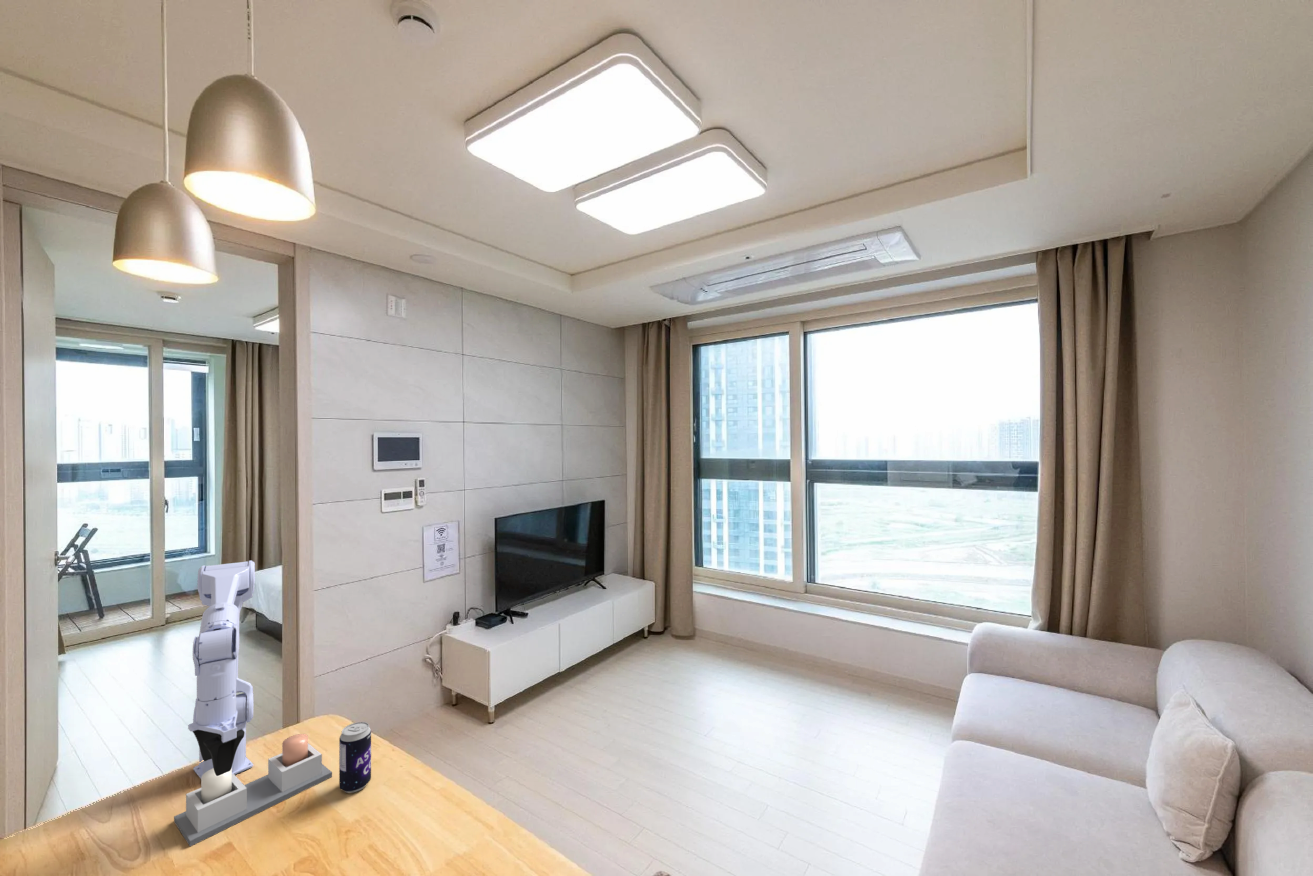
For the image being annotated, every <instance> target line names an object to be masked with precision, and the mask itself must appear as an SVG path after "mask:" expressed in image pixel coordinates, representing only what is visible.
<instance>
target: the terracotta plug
mask: <svg viewBox="0 0 1313 876" xmlns="http://www.w3.org/2000/svg"><path fill="white" fill-rule="evenodd" d="M308 743H309V736H308V735H307V734H305V733H299V734H294V735H291V736H289V737H287V738H285V739H284V740H283V741H282V743H281V745H282V749H281V750H282V752H281V753H282V764H283V765H284V766H286V767H289V766H291V765H293V764H295V763H298V762H300V761H302V760H304V759H306V758H308Z"/></svg>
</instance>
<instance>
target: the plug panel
mask: <svg viewBox="0 0 1313 876" xmlns="http://www.w3.org/2000/svg"><path fill="white" fill-rule="evenodd" d="M267 766H268V767H267V768H268V769H267V770H268V773H267V774H266V775H263V776H261V777H259V778H257V779H255V780H252V781H251V782H248V783H246V784H244V783H243V782H242V781H241V780H240V779H239V777H237V776H236V774H235V775H234V774H232V791H231V793H228V794H226V795H224V796H222V797H220V798H217V799H215V800H213V801H211V802H208V803H203V802H202V801H201V787H200V788H197V789H195V790H192V791H190V792H188V793H186V794H185V811H183V812H181V813H178V814H176V815H174V816H173V822H174V824H175V825H176V828H177V829H178V830H179V832H180V833H181V834H182V837H183V838H184V840H185V841H186V843H187V845H188V846H189V847H192V846H193V845H194V846H195V845H196V844H198V843H200V842H202V841H204V840H206V839H209V838H211V837H213V836H214V835H216V834H219V833H221V832H223V831H225V830H227V829H229V828H231V827H233V826H236V825H237V824H239V823H242V821H245V820H246V819H250V818H251V817H253V816H255V815H257V814H259V813H261V812H263V811H265V810H267V809H269V808H271V807H273V806H275V805H278V804H279V803H282V802H283V801H286V800H287V799H290V798H292V797H294V796H296V795H297V794H300V793H302V792H304V791H306V790H308V789H310V788H312V787H315V786H316V785H318V784H321V783H322V782H325V781H327V780H329V779H330V778H332V777H333V772H332V771H331V770H330V769H329V768H328V767H327V766H325V765H324V764H323V754H322V753H321V752H320V751H318V750H317V749H316V748H315V747H314V746H312V745H311V744H310V743H309V742H308V758H306V759H304V760H302V761H300V762H298V763H295V764H293V765H291V766H289V767H286V766H284V765H283V764H282V752H281V753H279V754H277V755H275V756H272V757H270V758H268V763H267Z"/></svg>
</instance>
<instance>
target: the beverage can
mask: <svg viewBox="0 0 1313 876" xmlns="http://www.w3.org/2000/svg"><path fill="white" fill-rule="evenodd" d="M338 744H339V745H338V747H339V750H338V751H339V757H338V759H339V760H338V761H339V763H338V765H339V768H338V769H339V771H338V773H339V774H338V776H339V777H338V779H339V781H338V783H339V784H338V786H339V789H340V791H341V790H342V791H343V792H344V793H346V794H354V793H357V792H360V791H361V790H363V789H364V788H365V787H366V786H367V785H368V784H369V782H370V781H371V779H372V729H371V728H370V724H369V723H368V722H366V721H356V722H353V723H351V724H349V725H346V726H345V727H344V728H342V730H341V734H340V736H339V743H338Z"/></svg>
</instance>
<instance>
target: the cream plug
mask: <svg viewBox="0 0 1313 876" xmlns="http://www.w3.org/2000/svg"><path fill="white" fill-rule="evenodd" d="M200 781H201V784H200V788H201V801H202V802H203V803H208V802H211V801H213V800H215V799H217V798H220V797H222V796H224V795H226V794H228V793H231V791H232V768H231V770H230V771H229V772H226V773H224V774H221V775H219V776H216V774H215V772H214V768H213V769H210V770H208V771H207V772H205V773H204V774H203V775H202V777H201V779H200Z"/></svg>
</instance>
